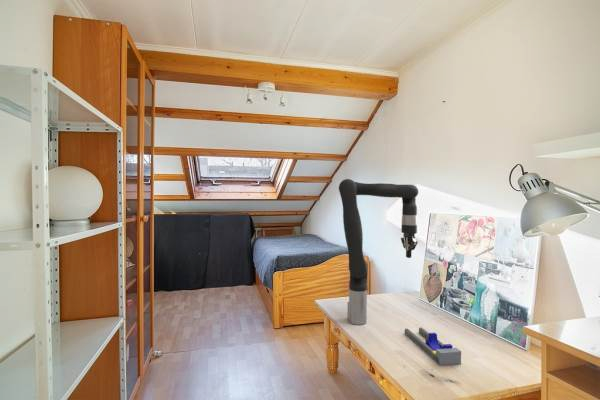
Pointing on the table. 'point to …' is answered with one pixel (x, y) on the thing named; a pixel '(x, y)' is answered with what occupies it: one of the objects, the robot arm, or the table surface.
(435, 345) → the blue u-shaped block
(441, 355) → the grey u-shaped bracket
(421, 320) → the table surface
